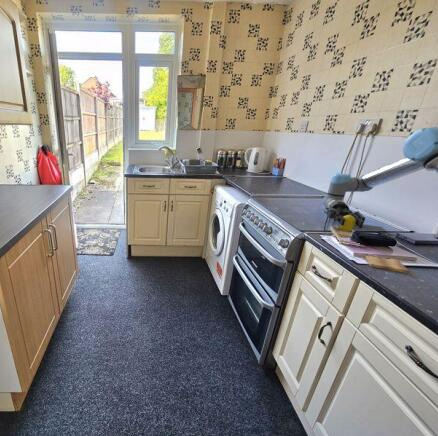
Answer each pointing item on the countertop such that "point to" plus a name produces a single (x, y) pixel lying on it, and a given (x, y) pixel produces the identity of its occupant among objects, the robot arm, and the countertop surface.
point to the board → (386, 264)
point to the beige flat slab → (342, 234)
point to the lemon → (348, 223)
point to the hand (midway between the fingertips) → (352, 223)
